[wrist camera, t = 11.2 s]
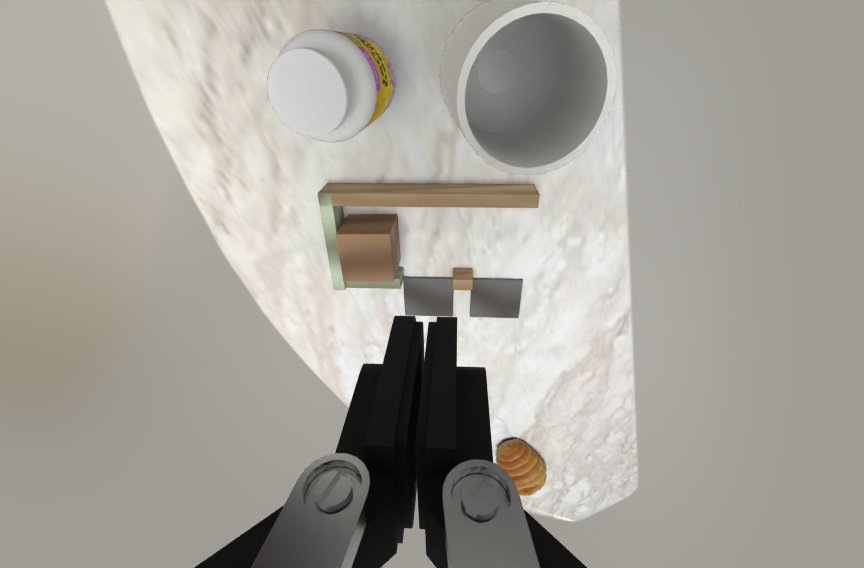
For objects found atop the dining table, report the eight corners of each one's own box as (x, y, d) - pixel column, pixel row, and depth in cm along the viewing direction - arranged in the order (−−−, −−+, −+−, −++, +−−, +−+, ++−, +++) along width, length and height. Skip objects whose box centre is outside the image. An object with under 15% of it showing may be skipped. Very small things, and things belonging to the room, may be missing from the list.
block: (348, 214, 40) (335, 234, 36) (397, 213, 40) (389, 234, 36) (355, 257, 43) (343, 281, 38) (400, 257, 42) (394, 281, 38)
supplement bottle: (411, 84, 34) (388, 103, 23) (358, 137, 36) (314, 177, 25) (355, 12, 31) (298, -6, 20) (302, 74, 34) (226, 88, 23)
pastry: (484, 441, 57) (486, 465, 54) (529, 430, 56) (533, 454, 52) (506, 478, 62) (509, 502, 58) (549, 468, 60) (554, 492, 57)
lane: (327, 183, 38) (317, 193, 36) (534, 184, 37) (539, 194, 35) (346, 312, 46) (340, 327, 44) (517, 316, 45) (521, 332, 43)
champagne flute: (467, -1, 30) (482, -98, 10) (544, 37, 31) (706, 22, 11) (434, 89, 34) (394, 158, 13) (505, 121, 35) (571, 232, 14)
